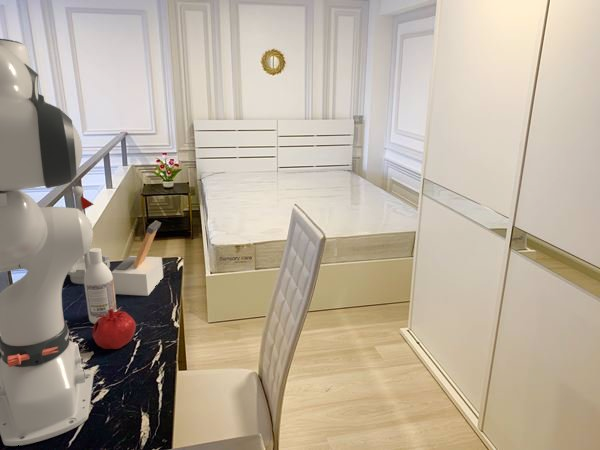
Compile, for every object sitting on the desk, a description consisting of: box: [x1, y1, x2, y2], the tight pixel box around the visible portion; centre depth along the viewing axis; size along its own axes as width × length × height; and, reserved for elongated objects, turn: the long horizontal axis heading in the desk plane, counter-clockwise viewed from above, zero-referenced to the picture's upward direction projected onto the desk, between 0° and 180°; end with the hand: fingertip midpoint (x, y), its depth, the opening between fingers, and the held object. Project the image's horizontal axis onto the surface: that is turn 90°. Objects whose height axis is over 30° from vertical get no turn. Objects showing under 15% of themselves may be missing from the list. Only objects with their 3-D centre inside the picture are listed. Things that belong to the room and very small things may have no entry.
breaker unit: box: [111, 255, 164, 297], centre depth 141 cm, size 10×13×8 cm
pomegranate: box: [91, 308, 137, 350], centre depth 111 cm, size 10×10×9 cm
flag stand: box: [67, 185, 111, 285], centre depth 142 cm, size 13×13×30 cm
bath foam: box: [83, 247, 118, 324], centre depth 119 cm, size 7×7×20 cm
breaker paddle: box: [133, 220, 162, 268], centre depth 137 cm, size 2×6×14 cm, turn 177°
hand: (16, 181), depth 102 cm, fingers open, 8 cm apart
